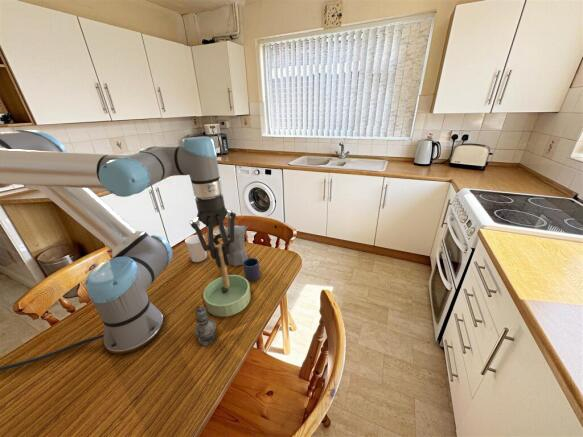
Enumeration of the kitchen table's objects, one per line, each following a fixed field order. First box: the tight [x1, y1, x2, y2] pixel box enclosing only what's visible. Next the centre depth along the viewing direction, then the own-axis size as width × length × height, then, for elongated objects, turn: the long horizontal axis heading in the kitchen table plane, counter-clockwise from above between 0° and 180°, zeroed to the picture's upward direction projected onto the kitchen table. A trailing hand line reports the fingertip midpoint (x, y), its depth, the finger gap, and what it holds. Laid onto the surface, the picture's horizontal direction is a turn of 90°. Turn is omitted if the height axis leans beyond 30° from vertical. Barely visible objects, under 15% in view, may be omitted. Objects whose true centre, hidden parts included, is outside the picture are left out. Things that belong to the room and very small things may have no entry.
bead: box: [221, 286, 228, 293], centre depth 85 cm, size 2×2×2 cm
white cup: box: [184, 234, 208, 263], centre depth 105 cm, size 8×8×10 cm
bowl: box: [202, 274, 252, 318], centre depth 82 cm, size 15×15×5 cm
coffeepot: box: [213, 224, 249, 267], centre depth 100 cm, size 15×9×18 cm, turn 129°
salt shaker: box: [194, 306, 217, 346], centre depth 67 cm, size 6×6×12 cm
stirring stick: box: [215, 243, 230, 288], centre depth 77 cm, size 2×2×16 cm
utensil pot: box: [242, 257, 261, 282], centre depth 92 cm, size 6×6×7 cm
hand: (222, 264), depth 76 cm, fingers closed on stirring stick, 2 cm apart
